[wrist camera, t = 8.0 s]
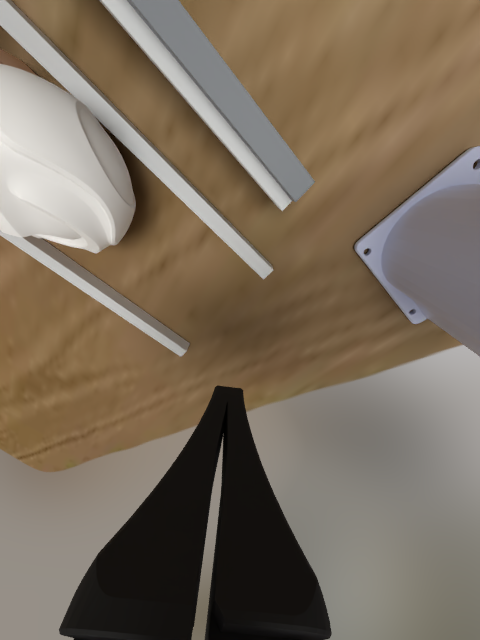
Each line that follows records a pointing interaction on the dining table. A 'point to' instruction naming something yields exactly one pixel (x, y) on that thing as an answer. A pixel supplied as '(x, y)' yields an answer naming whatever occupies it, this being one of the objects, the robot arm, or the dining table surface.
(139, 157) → the rail mount
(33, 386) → the dining table surface
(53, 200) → the white rounded piece
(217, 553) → the robot arm
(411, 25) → the dining table surface
